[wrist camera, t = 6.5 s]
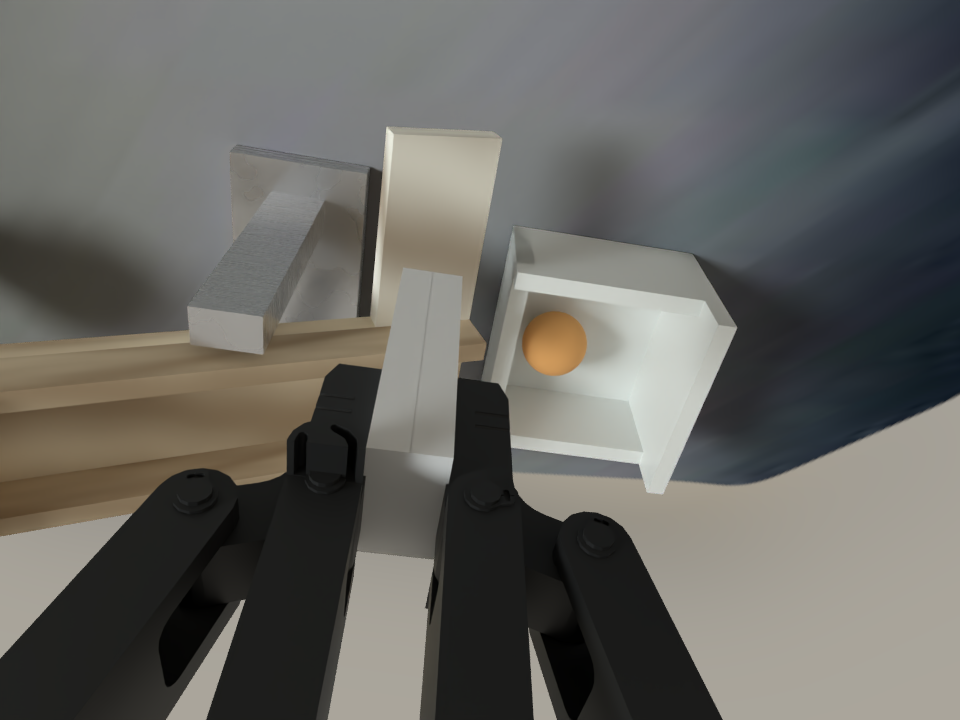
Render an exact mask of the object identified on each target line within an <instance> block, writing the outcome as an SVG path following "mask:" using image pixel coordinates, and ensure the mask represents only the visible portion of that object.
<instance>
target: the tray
mask: <svg viewBox="0 0 960 720" xmlns="http://www.w3.org/2000/svg"><path fill="white" fill-rule="evenodd" d="M551 311H559V312H563V313H567V314H569V315H571V316H572V317H574V318H575V319H576V320H577V321H578V322H579V323H580V324H581V325H582V327H583V329H584V331H585V334H586V338H587V349H586V353H585V356H584V358H583V360H582V362H581V363H580V364H579V365H578V366H577V367H576V368H575V369H574V370H572V371H571V372H569V373H567V374H564V375H560V376H549V375H545V374H542V373H540V372H538V371H536V370H535V369H534V368H533V367H532V366H531V365H530V364H529V363H528V362H527V360H526V358H525V356H524V353H523V350H522V338H523V334H524V331H525V329H526V327H527V326H528V324H529V323H530V322H531V321H532V320H533V319H534V318H535V317H537V316H538V315H540V314H543V313H546V312H551ZM736 330H737V326H736V325H735V323H734V321H733V320H732V318H731V316H730V315H729V313H728V311H727V310H726V308H725V306H724V305H723V303H722V302H721V300H720V298H719V297H718V295H717V293H716V292H715V290H714V288H713V287H712V285H711V283H710V282H709V280H708V278H707V277H706V275H705V273H704V272H703V270H702V269H701V267H700V265H699V264H698V262H697V260H696V259H695V257H694V255H693V254H691V253H684V252H678V251H672V250H666V249H659V248H653V247H647V246H640V245H634V244H628V243H622V242H615V241H609V240H603V239H596V238H590V237H584V236H578V235H571V234H565V233H559V232H552V231H546V230H540V229H533V228H527V227H521V226H515V225H513V229H512V234H511V239H510V244H509V248H508V253H507V258H506V263H505V268H504V273H503V277H502V282H501V287H500V292H499V297H498V301H497V306H496V311H495V316H494V321H493V325H492V330H491V335H490V340H489V345H488V350H487V354H486V359H485V364H484V369H483V374H482V378H481V381H485V382H492V383H499V385H500V386H501V388H502V390H503V391H504V393H505V394H506V396H507V398H508V399H509V419H510V437H511V448H518V449H526V450H534V451H541V452H549V453H557V454H565V455H573V456H580V457H588V458H596V459H604V460H612V461H619V462H627V463H635V464H639V466H640V470H641V473H642V477H643V480H644V483H645V487H646V491H647V492H648V493H656V494H663V493H664V491H665V488H666V486H667V484H668V482H669V479H670V477H671V475H672V473H673V471H674V468H675V466H676V464H677V462H678V459H679V457H680V455H681V453H682V450H683V448H684V446H685V444H686V441H687V439H688V437H689V435H690V433H691V430H692V428H693V426H694V424H695V421H696V419H697V417H698V415H699V412H700V410H701V408H702V406H703V404H704V401H705V399H706V397H707V395H708V392H709V390H710V388H711V386H712V383H713V381H714V379H715V377H716V374H717V372H718V370H719V368H720V366H721V363H722V361H723V359H724V357H725V354H726V352H727V350H728V348H729V345H730V343H731V341H732V339H733V336H734V334H735V332H736Z"/></svg>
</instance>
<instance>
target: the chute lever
mask: <svg viewBox="0 0 960 720" xmlns="http://www.w3.org/2000/svg"><path fill="white" fill-rule="evenodd" d="M501 144H502V138H501V137H499V136H498V135H497V134H496V133H494V132H493V131H472V130H450V129H429V128H408V127H387V129H386V140H385V152H384V163H383V175H382V186H381V198H380V209H379V220H378V232H377V243H376V255H375V266H374V277H373V289H372V300H371V312H370V317H357V318H344V319H330V320H317V321H304V322H290V323H279V324H278V326H277V328H276V330H275V332H274V334H273V336H272V338H271V340H270V342H269V344H268V346H267V348H266V350H265V352H264V355H262V354H254V353H247V352H240V351H232V350H225V349H218V348H210V347H203V346H196V345H190V334H189V330H184V331H171V332H158V333H144V334H131V335H118V336H105V337H91V338H78V339H65V340H52V341H38V342H25V343H12V344H0V536H6V535H11V534H17V533H23V532H28V531H34V530H40V529H45V528H51V527H57V526H63V525H68V524H74V523H80V522H86V521H91V520H97V519H102V518H108V517H114V516H120V515H125V514H131V513H134V512H135V511H136V510H137V509H138V508H139V507H140V506H141V505H142V504H143V502H144V501H145V500H146V499H147V498H148V497H149V496H150V495H151V494H152V493H153V492H154V490H155V489H156V488H157V487H158V486H159V485H160V484H161V483H163V482H164V481H165V480H167V479H168V478H169V477H171V476H172V475H175V474H177V473H180V472H182V471H185V470H190V469H198V468H207V469H213V470H219V471H220V472H222V473H224V474H226V475H228V476H230V477H231V479H232V480H233V481H234V482H235V484H236V485H244V484H252V483H259V482H263V481H268V480H271V479H274V478H276V477H279V476H281V475H282V474H284V473H285V472H287V438H288V437H289V435H290V434H291V433H292V431H293V430H294V429H296V428H297V427H299V426H300V425H302V424H303V423H306V422H310V421H311V419H312V416H313V413H314V409H315V408H316V403H317V400H318V397H319V395H320V391H321V388H322V384H323V381H324V378H325V376H326V375H327V374H328V373H329V372H330V371H331V370H333V369H334V368H335V367H336V366H337V365H338V364H339V363H340V364H347V365H355V366H362V367H370V368H377V369H382V368H383V363H384V358H385V353H386V348H387V344H388V339H389V334H390V329H391V324H392V319H393V314H394V310H395V305H396V300H397V295H398V290H399V285H400V281H401V276H402V271H403V268H410V269H417V270H424V271H430V272H437V273H444V274H450V275H457V276H463V278H462V299H461V319H460V339H459V359H458V378H459V372H460V367H461V362H469V361H478V360H483V359H484V354H485V349H486V344H487V343H486V342H485V340H484V339H483V338H482V336H481V335H480V334H479V332H478V331H477V330H476V328H475V327H474V325H473V324H472V323H471V321H470V320H469V318H470V312H471V307H472V301H473V296H474V291H475V285H476V280H477V274H478V269H479V263H480V258H481V253H482V247H483V242H484V236H485V231H486V225H487V220H488V215H489V209H490V204H491V198H492V193H493V187H494V182H495V176H496V171H497V166H498V160H499V155H500V149H501Z"/></svg>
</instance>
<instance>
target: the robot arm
mask: <svg viewBox="0 0 960 720" xmlns="http://www.w3.org/2000/svg"><path fill="white" fill-rule="evenodd" d="M462 278H463V276H457V275H450V274H444V273H437V272H430V271H424V270H417V269H410V268H403V271H402V276H401V281H400V285H399V290H398V295H397V300H396V305H395V310H394V314H393V319H392V324H391V329H390V334H389V339H388V344H387V348H386V353H385V358H384V363H383V368H382V369H377V368H370V367H362V366H355V365H347V364H340V363H339V364H338V365H337V366H336V367H335V368H334V369H333V370H331V371H330V372H329V373H328V374H327V375H326V376H325V378H324V381H323V384H322V388H321V391H320V395H319V397H318V400H317V403H316V408H315V409H314V413H313V416H312V419H311V421H310V422H306V423H303V424H302V425H300V426H299V427H297V428H296V429H294V430H293V431H292V433H291V434H290V435H289V437H288V438H287V472H285V473H284V474H282V475H281V476H279V477H276V478H274V479H271V480H268V481H263V482H259V483H252V484H244V485H236V484H235V482H234V481H233V480H232V479H231V477H230V476H228V475H226V474H224V473H222V472H220V471H219V470H213V469H207V468H198V469H190V470H185V471H182V472H180V473H177V474H175V475H172V476H171V477H169V478H168V479H167V480H165V481H164V482H163V483H161V484H160V485H159V486H158V487H157V488H156V489H155V490H154V492H153V493H152V494H151V495H150V496H149V497H148V498H147V499H146V500H145V501H144V502H143V504H142V505H141V506H140V507H139V508H138V509H137V510H136V511H135V512H134V513H133V514H132V516H131V517H130V518H129V519H128V520H127V521H126V522H125V523H124V524H123V525H122V526H121V528H120V529H119V530H118V531H117V532H116V533H115V534H114V535H113V536H112V537H111V538H110V540H109V541H108V542H107V543H106V544H105V545H104V546H103V547H102V548H101V549H100V550H99V552H98V553H97V554H96V555H95V556H94V557H93V558H92V559H91V560H90V561H89V563H88V564H87V565H86V566H85V567H84V568H83V569H82V570H81V571H80V572H79V573H78V574H77V576H76V577H75V578H74V579H73V580H72V581H71V582H70V583H69V585H68V586H66V588H65V589H64V590H63V591H62V592H61V593H60V594H59V595H58V596H57V597H56V599H55V600H54V601H53V602H52V603H51V604H50V605H49V606H48V607H47V608H46V610H44V612H43V613H42V614H41V615H40V616H39V617H38V618H37V619H36V620H35V621H34V623H33V624H32V625H31V626H30V627H29V628H28V629H27V630H26V631H25V632H24V633H23V635H22V636H21V637H20V638H19V639H18V640H17V641H16V642H15V643H14V644H13V646H12V647H11V648H10V649H9V650H8V651H7V652H6V653H5V654H4V655H3V656H2V657H1V659H0V720H166V718H167V717H168V715H169V713H170V712H171V711H172V709H173V707H174V706H175V704H176V703H177V701H178V700H179V698H180V696H181V695H182V693H183V692H184V690H185V689H186V687H187V685H188V684H189V682H190V681H191V679H192V677H193V676H194V675H195V672H196V671H197V670H198V668H199V667H200V665H201V663H202V662H203V660H204V659H205V657H206V656H207V654H208V653H209V651H210V649H211V648H212V646H213V645H214V643H215V642H216V640H217V638H218V637H219V635H220V634H221V632H222V631H223V629H224V627H225V626H226V624H227V623H228V621H229V620H230V618H231V617H232V615H233V613H234V612H235V610H236V609H237V607H238V606H239V603H240V601H241V600H244V599H246V600H245V603H244V606H243V609H242V612H241V615H240V618H239V621H238V624H237V627H236V631H235V634H234V637H233V640H232V643H231V646H230V649H229V652H228V655H227V658H226V661H225V664H224V667H223V670H222V673H221V676H220V679H219V682H218V685H217V689H216V692H215V695H214V698H213V701H212V704H211V707H210V710H209V713H208V716H207V719H206V720H327V719H328V714H329V708H330V703H331V697H332V692H333V686H334V681H335V675H336V670H337V664H338V659H339V653H340V648H341V642H342V637H343V631H344V626H345V620H346V615H347V610H348V604H349V598H350V593H351V587H352V582H353V577H354V566H355V557H356V552H357V551H361V552H370V553H379V554H388V555H397V556H407V557H416V558H425V559H434V568H433V572H432V577H431V583H430V587H429V593H428V597H427V603H426V607H425V608H427V609H428V619H427V632H426V645H425V658H424V670H423V685H422V696H421V697H422V698H421V709H420V720H534V718H533V703H532V684H531V668H530V651H529V634H528V627H529V632H530V636H531V638H532V642H533V645H534V648H535V651H536V654H537V657H538V661H539V664H540V667H541V670H542V673H543V677H544V680H545V683H546V686H547V689H548V692H549V696H550V699H551V702H552V705H553V708H554V711H555V714H556V718H557V720H723V719H722V718H721V715H720V714H719V712H718V710H717V708H716V706H715V704H714V702H713V700H712V698H711V696H710V694H709V692H708V690H707V688H706V686H705V684H704V682H703V680H702V678H701V676H700V674H699V672H698V670H697V668H696V666H695V664H694V662H693V660H692V658H691V656H690V654H689V652H688V650H687V648H686V646H685V644H684V642H683V640H682V638H681V637H680V635H679V632H678V630H677V629H676V627H675V624H674V623H673V621H672V619H671V617H670V615H669V613H668V611H667V609H666V607H665V605H664V603H663V601H662V599H661V597H660V595H659V593H658V591H657V589H656V587H655V585H654V583H653V581H652V579H651V577H650V575H649V573H648V571H647V569H646V567H645V565H644V563H643V561H642V559H641V557H640V555H639V553H638V551H637V549H636V547H635V545H634V543H633V542H632V539H631V538H630V536H629V535H628V534H627V532H626V531H625V530H624V528H623V527H622V526H621V525H619V524H618V523H617V522H615V521H614V520H613V519H611V518H609V517H607V516H604V515H601V514H599V513H593V512H580V513H576V514H573V515H571V516H569V517H568V518H567V519H566V520H565V521H564V522H562V521H559V520H557V519H554V518H552V517H549V516H546V515H544V514H542V513H540V512H538V511H536V510H534V509H533V508H531V507H530V506H529V505H527V504H526V503H525V502H524V501H523V500H522V499H521V497H520V496H519V495H518V492H517V490H516V489H515V488H514V483H513V475H512V456H511V437H510V419H509V399H508V398H507V396H506V394H505V393H504V391H503V390H502V388H501V386H500V385H499V383H492V382H485V381H477V380H470V379H462V378H458V359H459V339H460V319H461V299H462Z"/></svg>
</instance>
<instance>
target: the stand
mask: <svg viewBox="0 0 960 720" xmlns="http://www.w3.org/2000/svg"><path fill="white" fill-rule="evenodd" d="M229 153H230V177H231V201H232V225H233V244H232V246H231V247H230V248H229V250H228V251H227V252H226V254H225V255H224V257H223V258H222V259H221V261H220V262H219V263H218V265H217V266H216V267H215V269H214V270H213V272H212V273H211V274H210V276H209V277H208V278H207V280H206V281H205V282H204V284H203V285H202V287H201V288H200V289H199V291H198V292H197V293H196V295H195V296H194V297H193V299H192V300H191V301H190V303H189V304H188V306H187V311H188V322H189V334H190V345H196V346H203V347H210V348H218V349H225V350H232V351H240V352H247V353H254V354H262V355H264V352H265V350H266V348H267V346H268V344H269V342H270V340H271V338H272V336H273V334H274V332H275V330H276V328H277V326H278V324H279V323H290V322H304V321H317V320H330V319H344V318H357V317H359V306H360V293H361V280H362V267H363V254H364V241H365V228H366V215H367V202H368V188H369V175H370V167H368V166H362V165H355V164H349V163H343V162H337V161H331V160H325V159H319V158H313V157H307V156H301V155H294V154H288V153H282V152H276V151H270V150H264V149H258V148H252V147H246V146H240V145H236V146H235V147H234V148H233V149H232V150H231V151H230V152H229Z"/></svg>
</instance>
